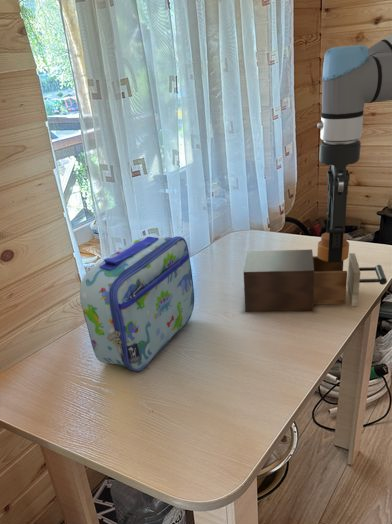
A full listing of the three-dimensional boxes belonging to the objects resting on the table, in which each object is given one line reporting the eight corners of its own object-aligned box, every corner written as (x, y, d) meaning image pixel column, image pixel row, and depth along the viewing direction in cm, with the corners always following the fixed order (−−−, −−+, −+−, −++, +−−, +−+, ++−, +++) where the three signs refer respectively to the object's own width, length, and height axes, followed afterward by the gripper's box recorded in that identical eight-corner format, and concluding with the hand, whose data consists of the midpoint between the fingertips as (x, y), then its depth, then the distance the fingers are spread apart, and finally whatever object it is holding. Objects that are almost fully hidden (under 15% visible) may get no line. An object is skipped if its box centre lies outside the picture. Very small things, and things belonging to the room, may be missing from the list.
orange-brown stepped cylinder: (346, 250, 112) (348, 230, 109) (349, 261, 106) (351, 241, 104) (316, 250, 113) (317, 230, 110) (318, 262, 108) (319, 241, 105)
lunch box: (134, 384, 94) (115, 279, 83) (89, 371, 99) (65, 271, 88) (203, 318, 113) (194, 226, 102) (162, 310, 118) (149, 221, 107)
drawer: (378, 284, 117) (382, 252, 113) (385, 305, 108) (389, 271, 104) (292, 285, 120) (293, 254, 116) (293, 306, 112) (293, 273, 108)
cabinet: (310, 288, 121) (312, 249, 116) (312, 311, 111) (314, 270, 106) (248, 289, 123) (247, 251, 118) (245, 312, 114) (243, 272, 109)
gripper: (317, 132, 106) (313, 239, 118) (322, 152, 90) (317, 274, 102) (355, 129, 105) (347, 238, 117) (367, 150, 89) (356, 273, 101)
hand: (333, 254), depth 110 cm, fingers closed on orange-brown stepped cylinder, 6 cm apart
